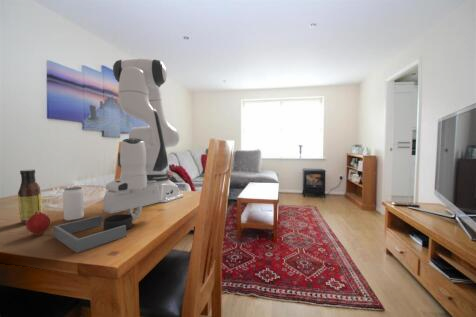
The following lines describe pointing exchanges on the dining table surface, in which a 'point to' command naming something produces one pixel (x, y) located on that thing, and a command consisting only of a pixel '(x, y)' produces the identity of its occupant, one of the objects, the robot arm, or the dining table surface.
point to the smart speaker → (117, 221)
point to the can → (73, 203)
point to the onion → (38, 223)
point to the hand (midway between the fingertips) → (134, 219)
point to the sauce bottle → (29, 195)
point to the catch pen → (89, 241)
